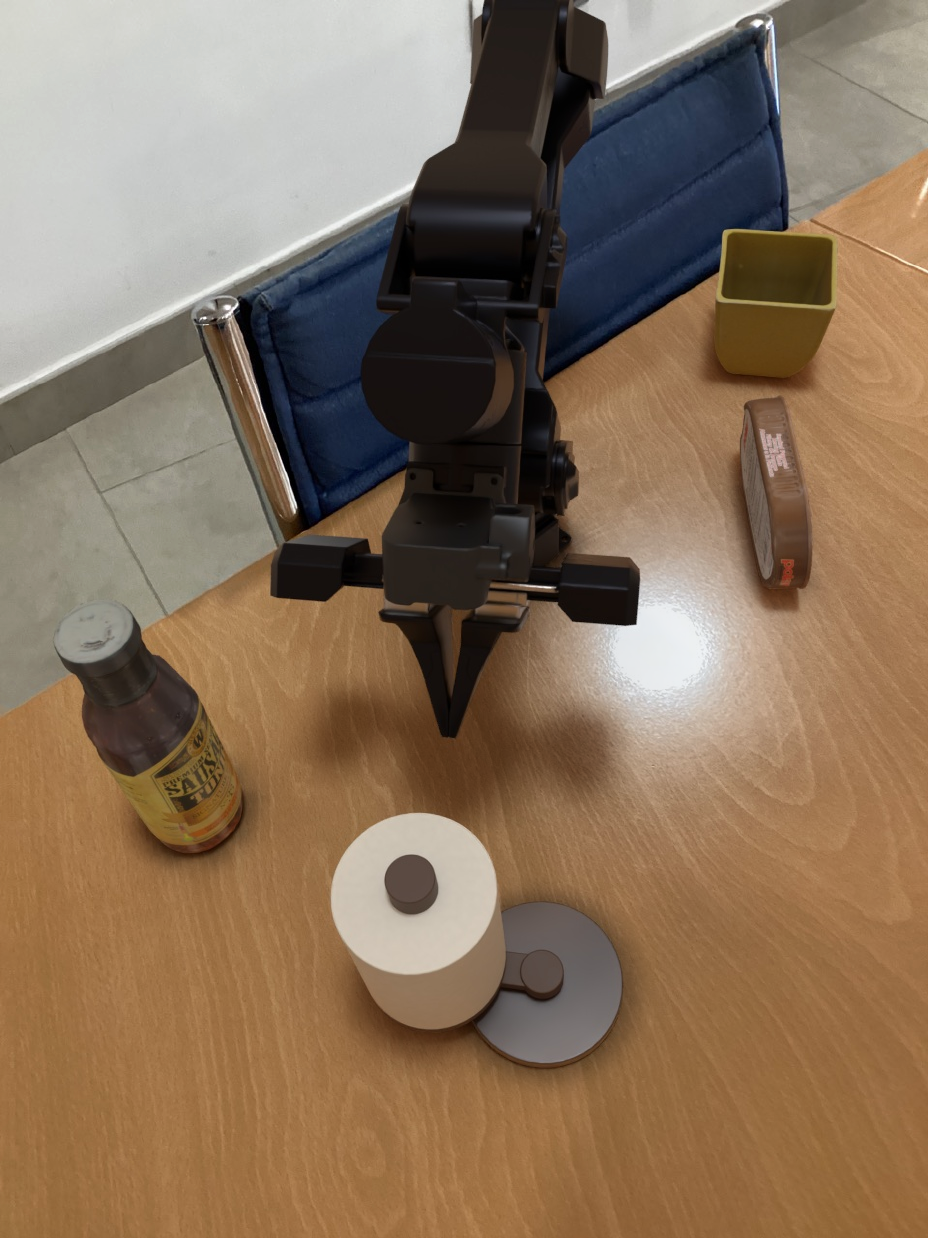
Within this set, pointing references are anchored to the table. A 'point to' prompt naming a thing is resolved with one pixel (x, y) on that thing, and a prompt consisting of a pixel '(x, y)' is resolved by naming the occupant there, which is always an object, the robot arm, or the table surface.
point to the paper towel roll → (430, 924)
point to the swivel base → (580, 1005)
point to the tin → (775, 495)
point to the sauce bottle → (149, 729)
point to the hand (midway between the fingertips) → (449, 736)
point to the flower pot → (773, 300)
